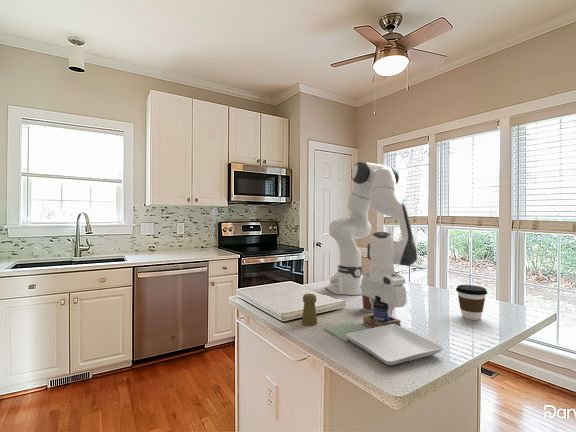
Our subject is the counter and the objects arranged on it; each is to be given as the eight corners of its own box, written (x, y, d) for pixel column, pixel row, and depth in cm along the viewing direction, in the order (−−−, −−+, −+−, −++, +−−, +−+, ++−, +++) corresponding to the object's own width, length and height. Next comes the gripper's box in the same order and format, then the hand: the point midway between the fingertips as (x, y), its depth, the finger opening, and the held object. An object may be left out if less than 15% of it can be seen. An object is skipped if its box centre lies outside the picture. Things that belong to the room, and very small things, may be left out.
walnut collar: (363, 322, 118) (363, 316, 118) (382, 319, 123) (382, 312, 123) (381, 331, 110) (381, 324, 110) (400, 326, 114) (400, 320, 114)
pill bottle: (391, 328, 113) (391, 298, 113) (373, 327, 114) (373, 297, 114) (389, 322, 119) (389, 293, 119) (372, 321, 120) (372, 293, 120)
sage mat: (323, 328, 113) (323, 327, 113) (352, 323, 118) (352, 321, 118) (345, 342, 101) (345, 340, 101) (376, 335, 107) (376, 333, 107)
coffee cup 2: (452, 317, 124) (452, 287, 124) (459, 311, 132) (459, 283, 132) (484, 324, 117) (484, 292, 117) (490, 317, 125) (490, 287, 125)
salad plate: (388, 373, 82) (388, 360, 82) (343, 343, 101) (343, 332, 101) (446, 358, 90) (446, 346, 90) (394, 332, 110) (394, 323, 110)
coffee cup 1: (373, 314, 128) (373, 285, 128) (355, 309, 135) (355, 281, 135) (385, 309, 134) (385, 282, 134) (367, 305, 141) (367, 278, 141)
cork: (308, 319, 123) (308, 291, 123) (320, 323, 119) (320, 294, 118) (298, 322, 119) (298, 294, 118) (310, 327, 114) (310, 297, 114)
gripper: (357, 271, 124) (357, 306, 124) (396, 282, 106) (395, 322, 106) (369, 270, 127) (369, 304, 127) (409, 280, 109) (409, 319, 109)
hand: (381, 312), depth 116 cm, fingers closed on pill bottle, 6 cm apart
